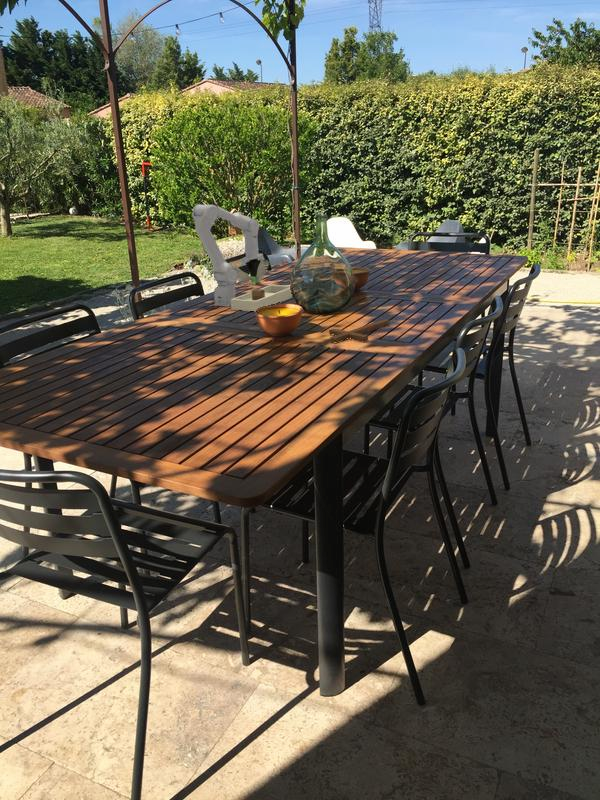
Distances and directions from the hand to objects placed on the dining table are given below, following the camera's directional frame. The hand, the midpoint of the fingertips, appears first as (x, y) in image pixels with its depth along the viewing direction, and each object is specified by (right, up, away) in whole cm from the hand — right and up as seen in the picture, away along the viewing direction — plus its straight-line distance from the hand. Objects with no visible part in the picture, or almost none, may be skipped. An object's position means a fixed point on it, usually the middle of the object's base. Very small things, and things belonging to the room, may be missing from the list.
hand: (253, 276), depth 293 cm
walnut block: (+3, -13, -14) cm, 19 cm away
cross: (+43, -33, -63) cm, 83 cm away
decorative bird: (-4, +2, +32) cm, 32 cm away
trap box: (+5, -13, -9) cm, 17 cm away
